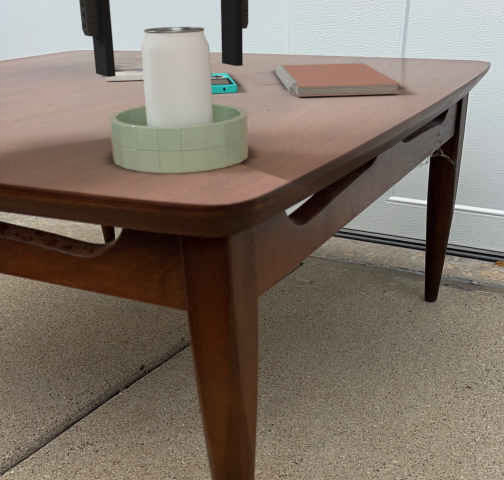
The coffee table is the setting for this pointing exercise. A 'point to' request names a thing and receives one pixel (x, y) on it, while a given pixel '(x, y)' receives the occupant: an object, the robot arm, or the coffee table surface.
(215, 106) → the bowl
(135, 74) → the photo frame
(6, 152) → the coffee table surface
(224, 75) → the handheld game console
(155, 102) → the can
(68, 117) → the coffee table surface
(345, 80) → the notebook
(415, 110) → the coffee table surface
